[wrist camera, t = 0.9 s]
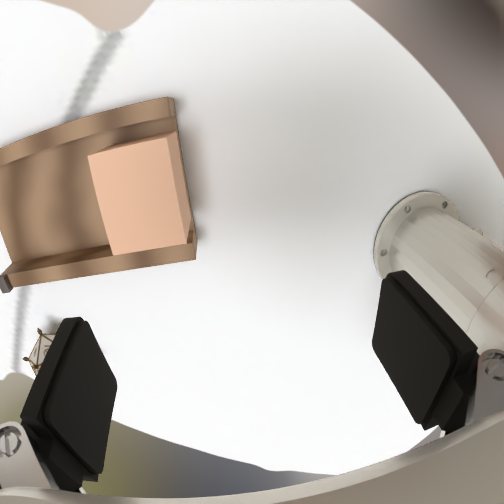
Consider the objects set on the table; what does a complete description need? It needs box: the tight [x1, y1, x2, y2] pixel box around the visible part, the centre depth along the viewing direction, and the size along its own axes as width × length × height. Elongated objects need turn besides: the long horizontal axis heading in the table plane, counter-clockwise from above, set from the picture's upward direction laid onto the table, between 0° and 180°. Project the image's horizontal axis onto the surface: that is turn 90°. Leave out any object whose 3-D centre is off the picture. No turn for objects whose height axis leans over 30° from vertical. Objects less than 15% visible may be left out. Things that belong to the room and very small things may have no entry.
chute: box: [0, 97, 197, 293], centre depth 26 cm, size 22×14×5 cm, turn 96°
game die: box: [23, 328, 56, 376], centre depth 32 cm, size 9×8×10 cm
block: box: [88, 131, 191, 256], centre depth 25 cm, size 6×8×6 cm
